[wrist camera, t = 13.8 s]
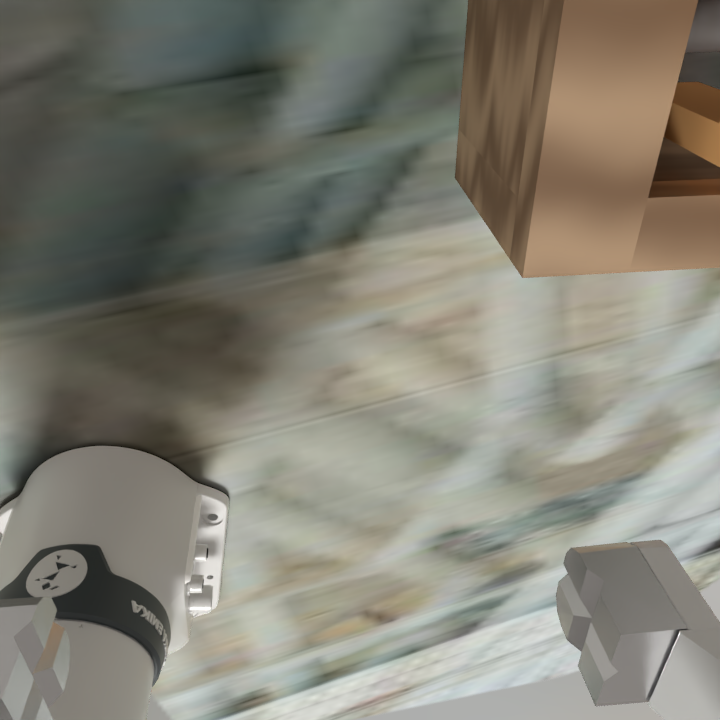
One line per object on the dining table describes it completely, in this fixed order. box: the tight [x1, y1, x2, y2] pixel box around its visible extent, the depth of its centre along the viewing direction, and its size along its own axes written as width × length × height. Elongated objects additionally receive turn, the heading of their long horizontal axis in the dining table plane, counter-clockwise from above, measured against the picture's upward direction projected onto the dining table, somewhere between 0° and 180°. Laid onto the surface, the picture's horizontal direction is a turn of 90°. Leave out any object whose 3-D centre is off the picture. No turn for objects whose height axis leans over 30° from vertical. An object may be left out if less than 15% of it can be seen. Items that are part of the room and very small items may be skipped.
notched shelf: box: [455, 0, 720, 278], centre depth 29 cm, size 20×15×14 cm
